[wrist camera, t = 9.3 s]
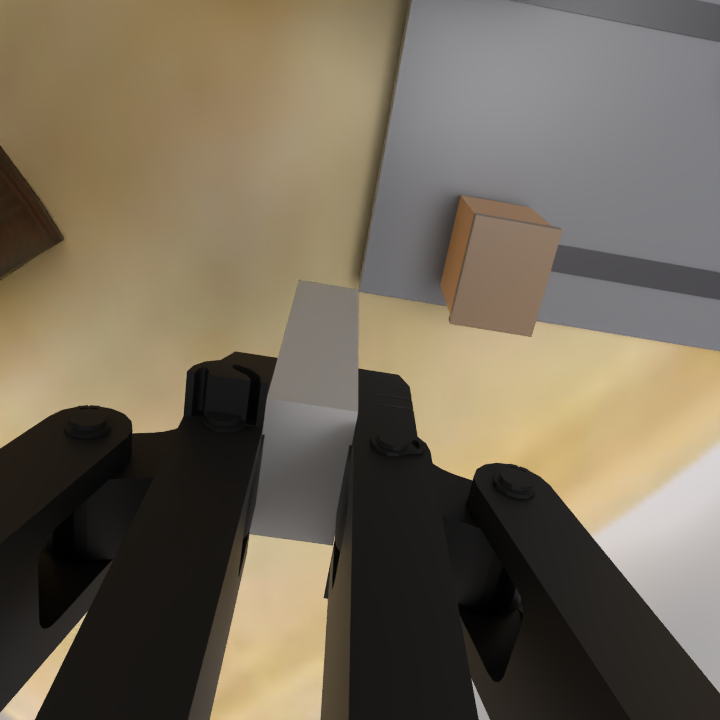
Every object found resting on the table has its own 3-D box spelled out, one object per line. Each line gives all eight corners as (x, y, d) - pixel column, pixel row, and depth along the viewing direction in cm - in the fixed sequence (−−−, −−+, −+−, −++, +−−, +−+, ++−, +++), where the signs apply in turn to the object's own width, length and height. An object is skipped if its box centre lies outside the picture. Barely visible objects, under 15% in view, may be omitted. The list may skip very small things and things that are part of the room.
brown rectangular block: (437, 287, 30) (450, 323, 26) (458, 192, 29) (475, 214, 24) (507, 298, 30) (531, 337, 26) (532, 205, 29) (562, 229, 25)
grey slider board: (359, 278, 32) (359, 325, 27) (495, -482, 22) (542, -670, 16) (757, 344, 34) (837, 401, 28) (1059, -343, 24) (1282, -472, 18)
